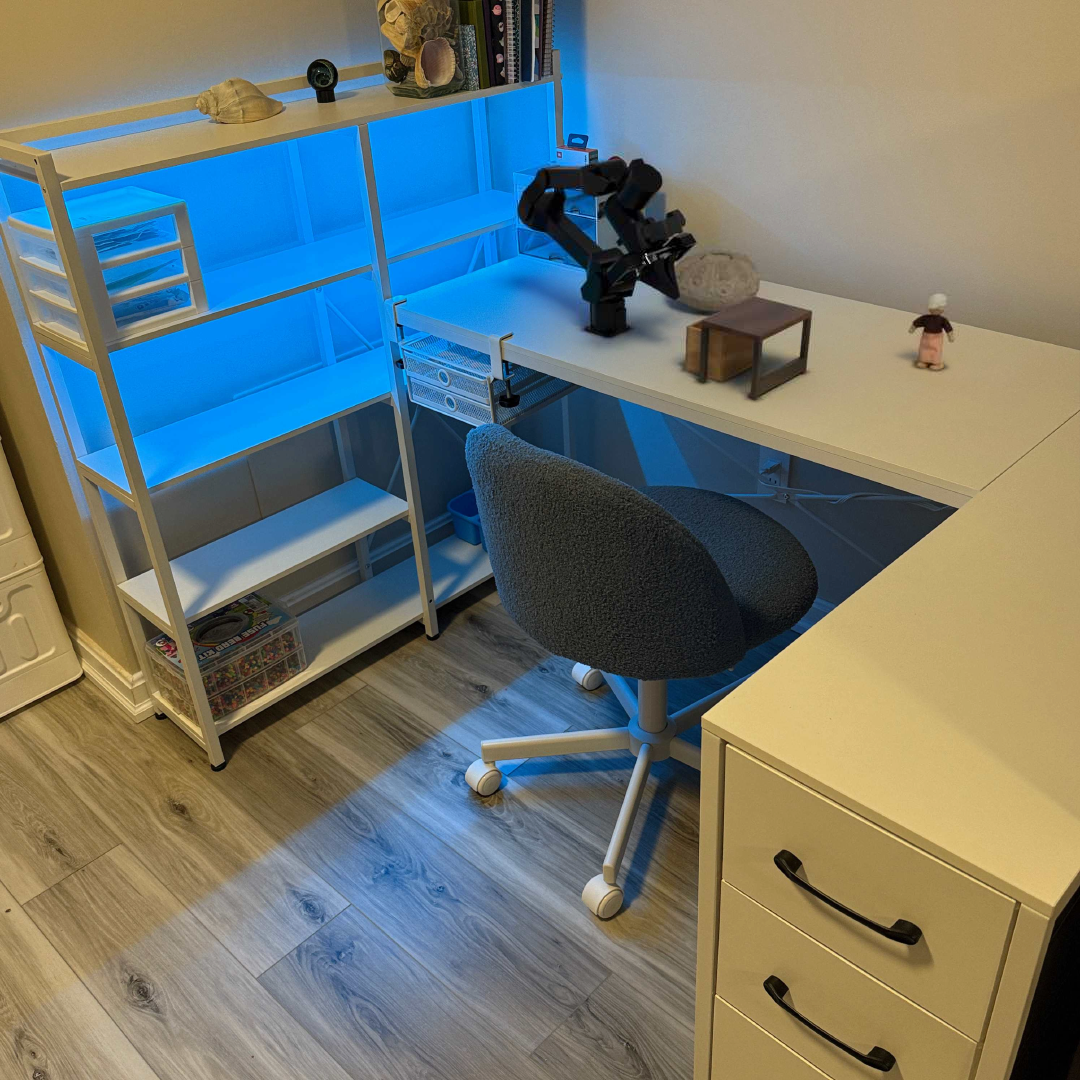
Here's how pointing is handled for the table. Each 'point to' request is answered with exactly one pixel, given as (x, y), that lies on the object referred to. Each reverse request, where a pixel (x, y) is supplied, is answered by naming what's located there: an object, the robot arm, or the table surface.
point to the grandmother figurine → (932, 332)
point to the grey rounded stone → (716, 280)
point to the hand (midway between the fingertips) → (677, 298)
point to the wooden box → (718, 352)
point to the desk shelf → (759, 337)
